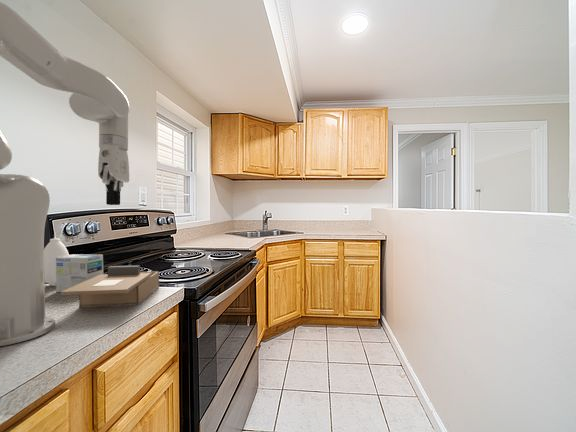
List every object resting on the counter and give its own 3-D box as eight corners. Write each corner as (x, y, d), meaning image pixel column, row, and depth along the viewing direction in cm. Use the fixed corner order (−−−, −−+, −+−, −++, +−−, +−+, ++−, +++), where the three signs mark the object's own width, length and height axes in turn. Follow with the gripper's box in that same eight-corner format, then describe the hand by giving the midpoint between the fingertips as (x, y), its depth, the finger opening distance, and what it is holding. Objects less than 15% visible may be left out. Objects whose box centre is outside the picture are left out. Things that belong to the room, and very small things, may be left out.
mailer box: (138, 305, 75) (138, 286, 75) (79, 307, 73) (79, 288, 73) (158, 286, 93) (158, 271, 93) (111, 288, 91) (111, 272, 91)
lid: (126, 292, 68) (126, 279, 68) (60, 295, 66) (60, 281, 66) (151, 275, 86) (151, 264, 86) (100, 277, 84) (100, 266, 84)
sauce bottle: (76, 282, 98) (75, 229, 98) (55, 289, 91) (54, 231, 90) (56, 282, 99) (55, 229, 99) (33, 288, 92) (32, 231, 91)
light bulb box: (104, 287, 92) (104, 253, 92) (88, 293, 86) (87, 257, 86) (73, 286, 94) (73, 253, 93) (54, 292, 87) (54, 256, 87)
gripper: (115, 137, 81) (114, 203, 80) (136, 150, 95) (136, 206, 95) (86, 136, 80) (85, 203, 80) (112, 149, 95) (112, 205, 94)
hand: (113, 204), depth 87 cm, fingers closed
